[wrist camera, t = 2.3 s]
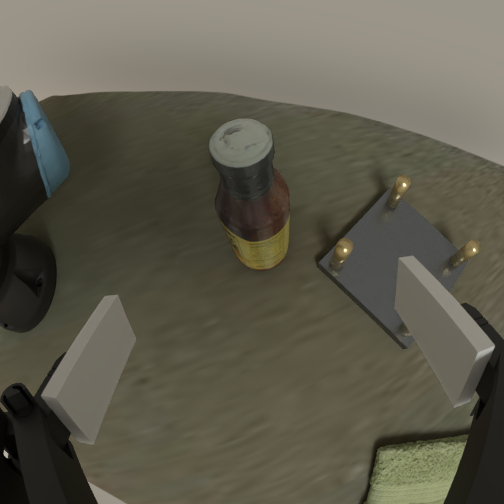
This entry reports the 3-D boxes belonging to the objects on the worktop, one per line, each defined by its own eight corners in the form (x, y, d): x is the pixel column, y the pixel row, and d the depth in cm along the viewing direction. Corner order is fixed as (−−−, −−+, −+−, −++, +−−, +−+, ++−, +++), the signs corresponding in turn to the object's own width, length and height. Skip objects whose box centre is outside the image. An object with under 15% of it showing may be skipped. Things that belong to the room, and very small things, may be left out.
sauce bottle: (237, 224, 38) (198, 103, 20) (288, 224, 38) (288, 98, 19) (234, 276, 36) (182, 178, 17) (288, 277, 35) (291, 175, 17)
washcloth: (467, 512, 21) (478, 519, 18) (349, 528, 24) (354, 540, 21) (492, 427, 25) (506, 430, 22) (375, 436, 28) (383, 442, 25)
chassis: (317, 266, 35) (323, 245, 29) (386, 193, 38) (400, 165, 32) (403, 349, 31) (427, 344, 25) (462, 264, 33) (488, 245, 27)
